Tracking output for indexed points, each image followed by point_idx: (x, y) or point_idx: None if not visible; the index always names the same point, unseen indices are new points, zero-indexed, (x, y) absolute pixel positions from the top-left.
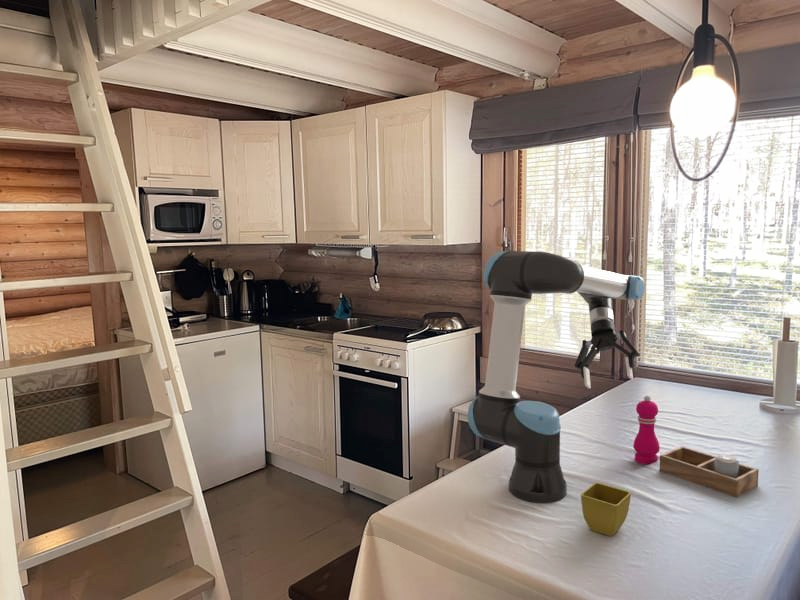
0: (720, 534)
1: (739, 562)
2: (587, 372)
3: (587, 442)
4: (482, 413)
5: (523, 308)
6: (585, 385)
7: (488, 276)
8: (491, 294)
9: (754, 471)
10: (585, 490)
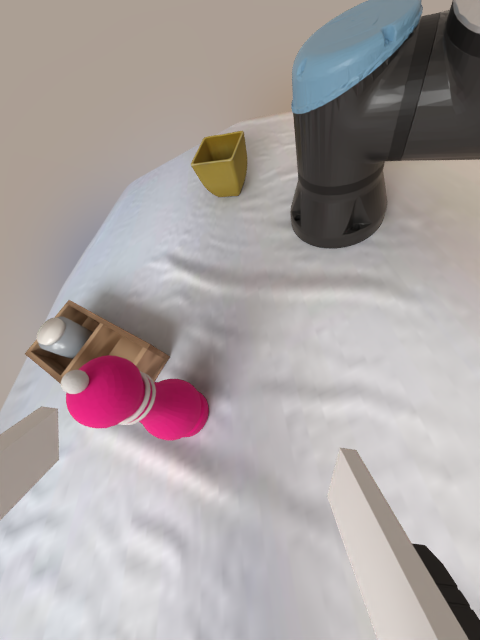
0: (130, 237)
1: (128, 207)
2: (397, 619)
3: None
4: None
5: None
6: (351, 452)
7: None
8: None
9: (34, 342)
10: (240, 139)
